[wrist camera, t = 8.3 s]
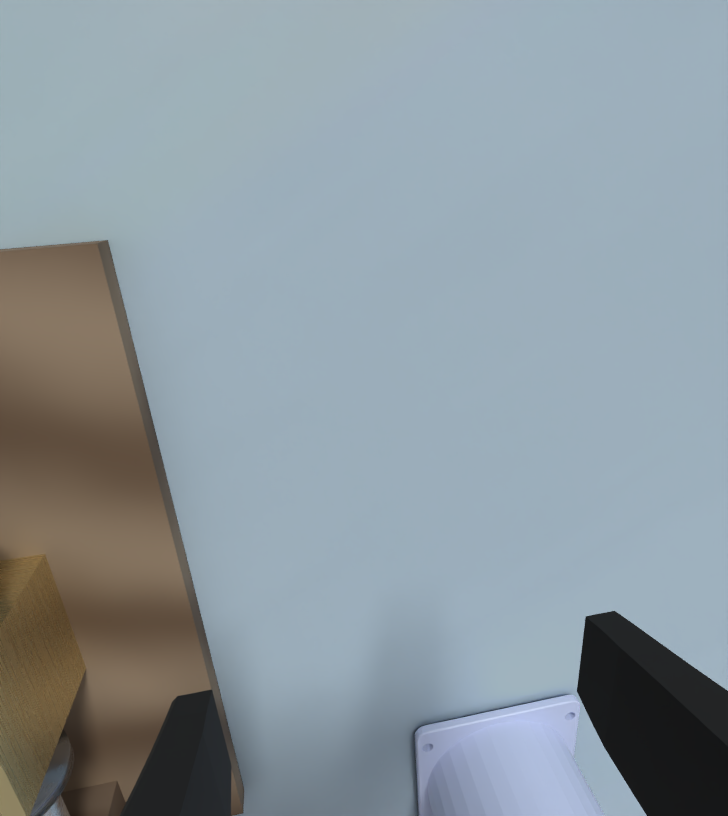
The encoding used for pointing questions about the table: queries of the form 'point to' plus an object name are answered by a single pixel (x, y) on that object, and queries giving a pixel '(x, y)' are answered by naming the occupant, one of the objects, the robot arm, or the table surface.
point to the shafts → (55, 781)
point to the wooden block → (32, 678)
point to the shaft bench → (96, 513)
